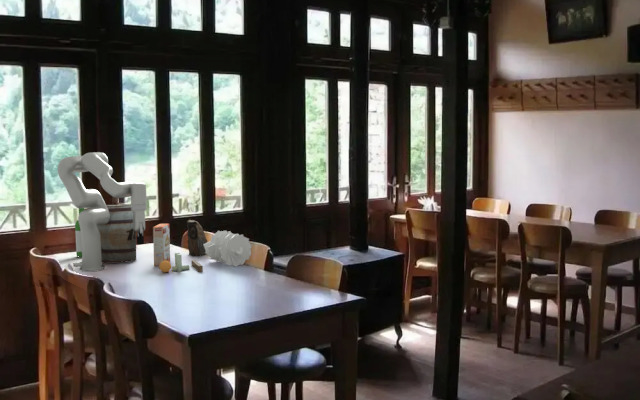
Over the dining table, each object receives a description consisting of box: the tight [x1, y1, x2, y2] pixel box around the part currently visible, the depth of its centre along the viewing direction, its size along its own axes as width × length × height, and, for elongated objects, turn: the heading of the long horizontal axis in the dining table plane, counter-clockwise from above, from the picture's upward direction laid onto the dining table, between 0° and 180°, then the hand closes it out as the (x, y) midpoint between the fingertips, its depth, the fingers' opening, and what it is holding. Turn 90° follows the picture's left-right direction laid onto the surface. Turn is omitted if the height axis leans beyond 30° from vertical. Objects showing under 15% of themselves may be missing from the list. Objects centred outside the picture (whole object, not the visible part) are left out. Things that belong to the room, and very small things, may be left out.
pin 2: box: [176, 253, 183, 273], centre depth 350 cm, size 2×2×8 cm
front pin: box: [171, 264, 190, 272], centre depth 353 cm, size 2×2×8 cm
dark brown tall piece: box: [186, 219, 209, 258], centre depth 395 cm, size 13×13×20 cm
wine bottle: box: [74, 208, 85, 258], centre depth 392 cm, size 8×8×30 cm
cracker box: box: [152, 223, 171, 267], centre depth 370 cm, size 14×6×21 cm, turn 179°
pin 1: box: [174, 252, 181, 266], centre depth 355 cm, size 2×2×8 cm
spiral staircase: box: [203, 230, 253, 267], centre depth 367 cm, size 18×18×25 cm
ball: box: [158, 261, 172, 273], centre depth 348 cm, size 6×6×6 cm
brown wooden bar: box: [190, 259, 204, 273], centre depth 356 cm, size 2×18×3 cm, turn 22°
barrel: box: [97, 204, 137, 264], centre depth 378 cm, size 22×22×30 cm
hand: (140, 243), depth 344 cm, fingers closed
